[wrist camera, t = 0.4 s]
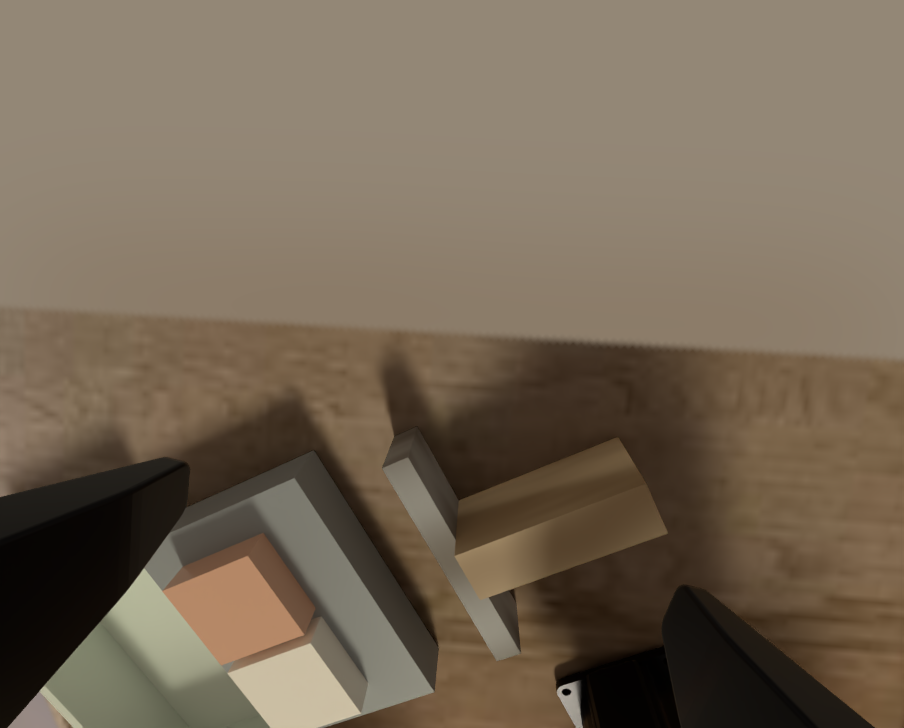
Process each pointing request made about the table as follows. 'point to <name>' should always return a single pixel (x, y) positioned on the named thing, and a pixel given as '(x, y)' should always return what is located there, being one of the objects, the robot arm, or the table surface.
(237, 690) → the tray
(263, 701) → the tile cream
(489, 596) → the scraper
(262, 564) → the tile terracotta
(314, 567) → the grey stepped riser
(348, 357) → the table surface
